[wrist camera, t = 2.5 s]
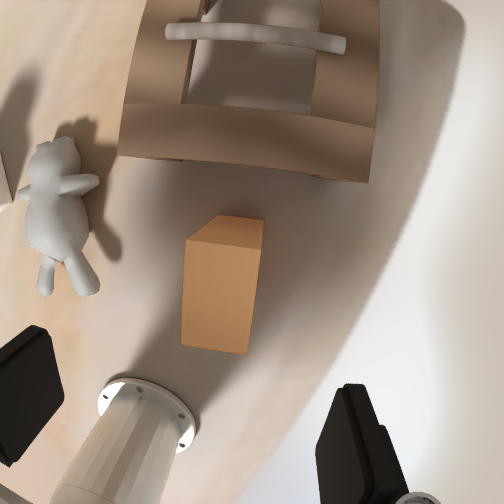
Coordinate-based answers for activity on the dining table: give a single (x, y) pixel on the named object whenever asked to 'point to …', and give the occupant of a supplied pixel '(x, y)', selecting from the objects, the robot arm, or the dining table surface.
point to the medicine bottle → (4, 188)
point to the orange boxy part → (221, 284)
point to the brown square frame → (247, 119)
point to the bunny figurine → (59, 214)
